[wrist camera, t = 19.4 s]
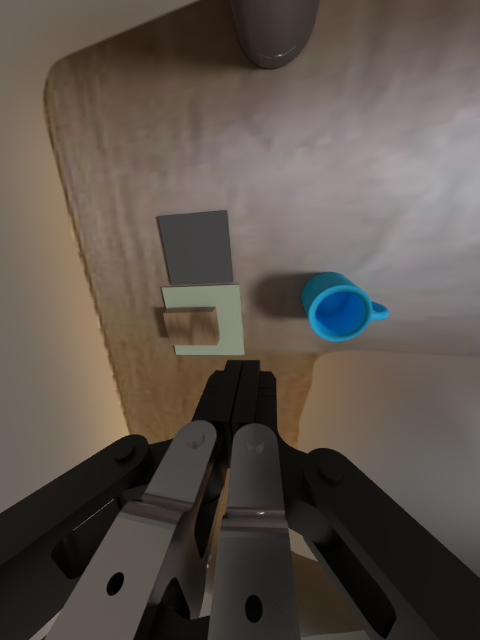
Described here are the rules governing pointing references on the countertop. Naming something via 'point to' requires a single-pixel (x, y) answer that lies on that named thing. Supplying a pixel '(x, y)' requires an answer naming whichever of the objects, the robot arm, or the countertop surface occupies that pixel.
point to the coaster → (197, 247)
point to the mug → (338, 307)
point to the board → (227, 314)
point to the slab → (192, 326)
